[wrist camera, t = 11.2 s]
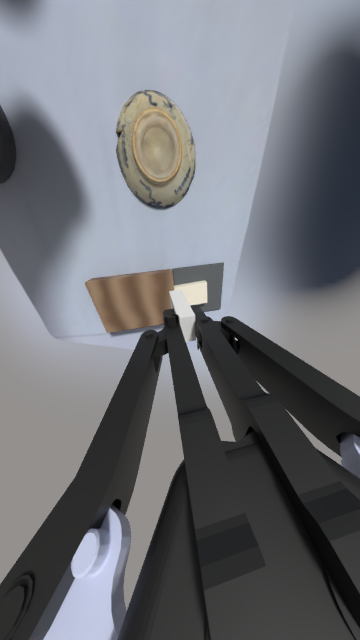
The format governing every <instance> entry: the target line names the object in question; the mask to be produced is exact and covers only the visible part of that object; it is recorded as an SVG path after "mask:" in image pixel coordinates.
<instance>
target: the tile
mask: <svg viewBox="0 0 360 640" xmlns="http://www.w3.org/2000/svg"><path fill="white" fill-rule="evenodd" d="M180 289H181V290H182V292H183V294H184V296H185V298H186V299H187V301H188V303H189V305H197V304H202V303H207V282H206V281H205V280H204V281H198V282H193V283H187V284H181V285H175V286H174V290H180Z"/></svg>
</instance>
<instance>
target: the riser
mask: <svg viewBox="0 0 360 640" xmlns="http://www.w3.org/2000/svg"><path fill="white" fill-rule="evenodd" d="M85 285H86V287H87V290H88V292H89V294H90V296H91V298H92V301H93V303H94V305H95V307H96V310H97V312H98V314H99V316H100V318H101V321H102V323H103V325H104V327H105V330H106V332H107V333H109V332H116V331H122V330H128V329H135V328H141V327H147V326H154V325H160V324H164V320H163V311H164V310H167V309H171V302H170V294H169V291H174V282H173V273H172V270H171V269H167V270H158V271H150V272H142V273H134V274H125V275H117V276H109V277H101V278H92V279H90V280H88V281H87V282H85Z"/></svg>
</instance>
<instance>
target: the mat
mask: <svg viewBox="0 0 360 640" xmlns="http://www.w3.org/2000/svg"><path fill="white" fill-rule="evenodd" d="M223 267H224V263H216V264H208V265H200V266H191V267H183V268H175V269H173V277H174V286H175V285H181V284H187V283H193V282H198V281H204V280H205V281H206V282H207V303H202V304H197V305H198V306H200V308H201V309H202V311H203V312H204V311H211V310H217V309H220V307H221V294H222V280H223Z"/></svg>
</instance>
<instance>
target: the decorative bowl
mask: <svg viewBox="0 0 360 640" xmlns="http://www.w3.org/2000/svg"><path fill="white" fill-rule="evenodd" d="M116 132H122V133H121V135H120V137H119V140H118V144H117V149H116V153H117V158H118V163H119V166H120V169H121V172H122V175H123V177H124V179H125V181H126V183H127V185H128V186H129V188H130V189H131V190H132V192H133V193H134V194H135V195H136V196H137V197H138V198H139V199H140V200H142V201H143V202H145V203H146V204H148V205H150V206H153V207H157V208H166V207H170V206H173V205H175V204H177V203H178V202H179V201H181V200H182V199H183V198H184V196H185V195H186V193H187V192H188V189H189V186H190V182H191V180H192V179H193V178H194V174H195V168H196V151H195V144H194V141H193V138H192V134H191V131H190V128H189V126H188V123H187V121H186V119H185V118H184V116H183V114H182V113H181V111H180V110H179V108H178V107H177V106H176V105H175V104H174V103H173V102H172V101H171V100H170V99H169V98H168V97H166V96H165V95H163V94H162V93H159V92H157V91H152V90H145V91H140V92H137V93H135V94H134V95H133V96H132V97H130V98H129V100H128V101H127V102H126V103H125V105H124V106H123V108H122V110H121V112H120V117H119V118H118V122H117V128H116Z"/></svg>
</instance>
